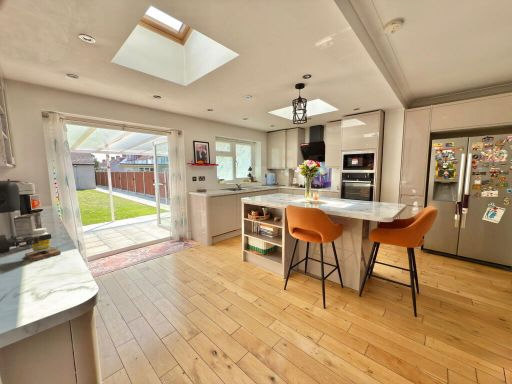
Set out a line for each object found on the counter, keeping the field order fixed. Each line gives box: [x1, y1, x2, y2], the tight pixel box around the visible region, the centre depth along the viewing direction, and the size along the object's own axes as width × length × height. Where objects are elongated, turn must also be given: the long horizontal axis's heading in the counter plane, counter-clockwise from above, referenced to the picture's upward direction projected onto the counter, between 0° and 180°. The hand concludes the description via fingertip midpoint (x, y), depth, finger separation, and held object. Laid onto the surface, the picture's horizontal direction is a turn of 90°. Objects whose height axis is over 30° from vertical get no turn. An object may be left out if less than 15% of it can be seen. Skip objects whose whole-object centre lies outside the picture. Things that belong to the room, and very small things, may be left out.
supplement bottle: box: [32, 227, 51, 252], centre depth 92 cm, size 5×5×10 cm
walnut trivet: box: [24, 246, 62, 262], centre depth 93 cm, size 11×9×2 cm
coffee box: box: [14, 213, 43, 250], centre depth 106 cm, size 9×6×16 cm
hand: (48, 235), depth 94 cm, fingers closed on supplement bottle, 5 cm apart
